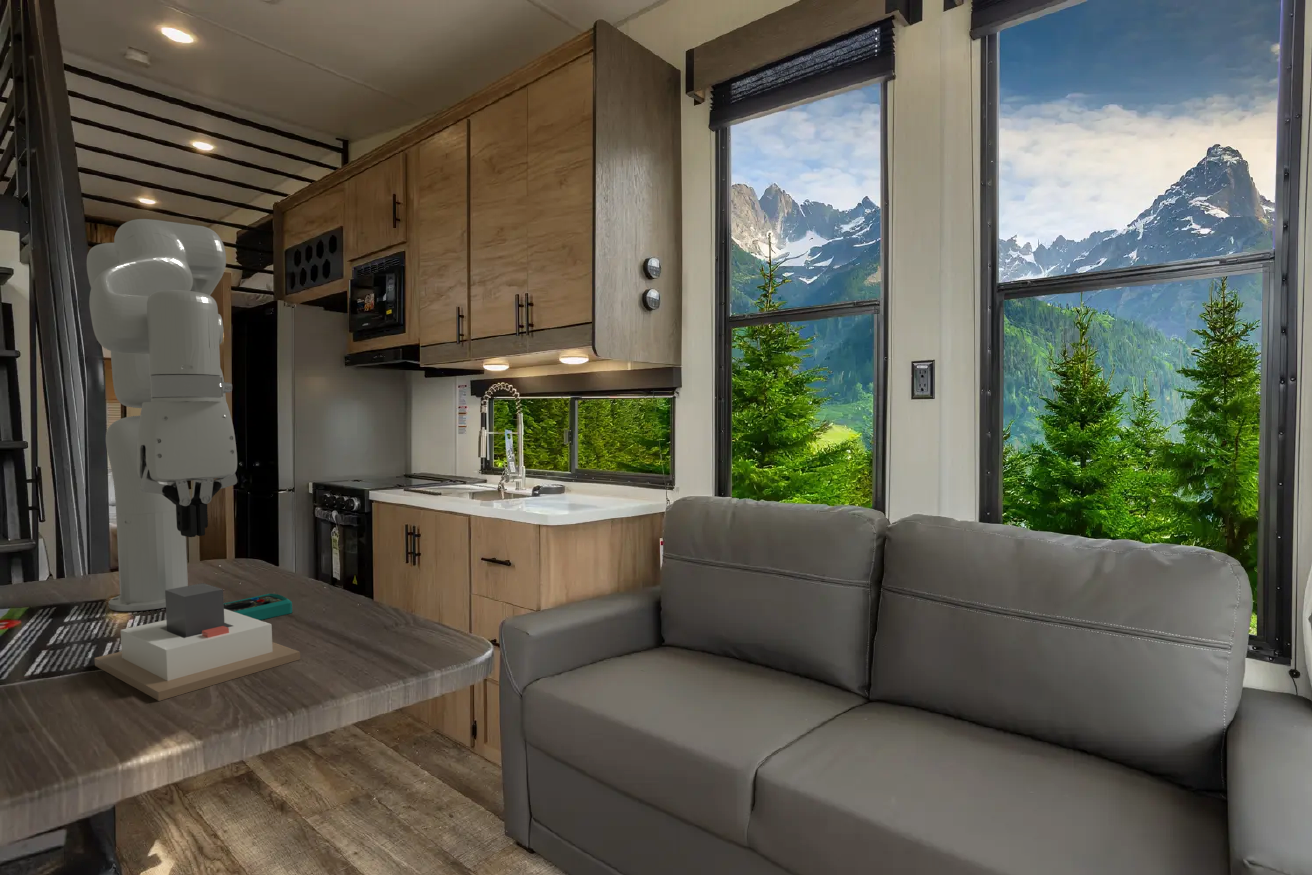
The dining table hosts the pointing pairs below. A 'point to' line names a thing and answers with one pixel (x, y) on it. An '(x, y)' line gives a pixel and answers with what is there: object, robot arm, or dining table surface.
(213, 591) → the plug
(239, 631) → the socket
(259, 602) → the digital multimeter
